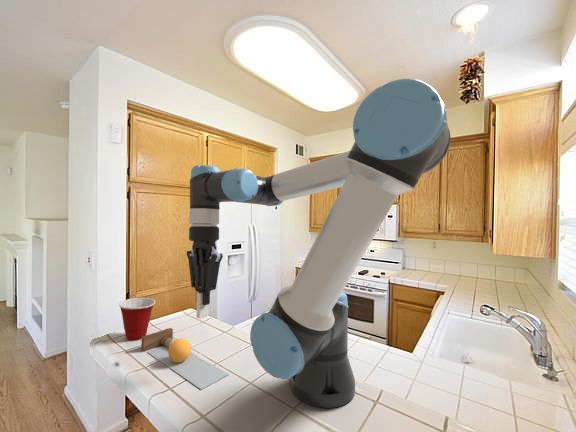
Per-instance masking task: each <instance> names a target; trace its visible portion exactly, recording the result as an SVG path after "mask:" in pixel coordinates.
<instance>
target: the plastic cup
mask: <svg viewBox="0 0 576 432" xmlns="http://www.w3.org/2000/svg"><path fill="white" fill-rule="evenodd" d="M155 304H156V300H155V299H152V298H149V297H133V298H127V299H124V300H123V301H120V302H119V304H118V306H119V308H120V311H121V317H122V321H123V322H122V323H123V329H124V334H125V335H124V336H125V338H126V341H130V342H134V341H139V340H142V337H143V336H146V335H147V332H148V327H149V323H150V320H151V315H152V310H153V308H154V306H155Z"/></svg>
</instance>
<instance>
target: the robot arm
mask: <svg viewBox="0 0 576 432" xmlns="http://www.w3.org/2000/svg"><path fill="white" fill-rule="evenodd" d="M352 122H353V123H352V131H353V139H354V143H353V145H352V147H351V149H350V150H348V151H344V152H341V153H338V154H335V155H332V156H328V157H326V158H322V159H320V160H316V161H313V162H309V163H307V164H304V165H301V166H298V167H297V166H296V167H294V168H291V169H288V170H284V171H282V172H278V173H276V174H272V175H269V176H265V177H263V176H259V175H256V174H254V173H253V172H252V170H250V169H249V168H231V169H229V170H223V171H221V169H220V168H218V167H217V166H214V165H206V164H203V165H201V164H198V165H194V166H193V167H191V170H190V179H189V212H188V213H189V216H188V217H189V220H188V223H189V225H191V226H190V227H188V240H189V241H191V242H193V243H192V245H191V247H192V249H191V250H187V251H186V257H187V259H188V260H187V261H188V268H189V277H190V286H191V288H194V291H195V292H196V297H195V298H196V319H200V320H201V319H204V318H207V317H209V316H210V304H211V303H210V301H211V292H212V291H215V290H216V289H217V285H218V284H217V283H218V277H219V270H220V267H221V261H222V259H223V258H224V254H223V253H219V252H218V251H217V248H218V247H217V245H216V241H220V227H219V226H218V225H219V224H220V209H221V208H220V203H233V202H234V203H242V204H251V205H260V206H261V205H262V206H267V207H274V206H275V207H276V206H280V205H281V204H283V202H284V201H285V202H286V201H288V200H294V199H297V198H301V197H305V196H309V195H314V194H317V193H322V192H327V191H332V190H335V189H336V190H337V189H339V188H341V189H340V191H339V192H338V195H337V196H336V199H335V201H334V203H332V204H333V205H332V206H331V209H330V210H329V213H328V214H327V216H326V218H325V220H324V222H323V224H322V226H321V228H320V230H319V232H318V233H317V236H316V238H315V240H314V241H313V243H312V245H311V247H310V249H309V251H308V253H307V255H306V257H305V259H304V261H303V262H302V265H301V267H300V268H299V271H298V273H297V275H296V277H295V278H294V280H293V282H292V285H287V286H284V287H283V288H281V289H280V291H279V292H278V293H277V296H276V298H275V299H274V302H273V304H272V305H271V308H270V309H269V311H268V312H263V313H261V314H260V315H258V316H257V318H256V319H254V321H253V322H252V325H251V327H250V336H249V337H250V345H251V347H252V352H253V355H254V357H255V358H256V361H257V362H258V364H259V365H260V366H261V368H262V369H263V371H266V373H267V374H269V375H270V376H272V377H274V378H277V379H281V380H288V379H290V390H291V392H292V393H293V395H294V396H295V397H296V398H297V399H298V400H300V401H301V402H303V403H304V404H307V405H310V406H313V407H316V408H324V409H325V408H327V409H328V408H329V409H330V408H331V409H332V408H338V407H341V406H342V407H343V406H344V405H346V404H348V403H349V402H351V401H352V400H353V398H354V397H355V394H356V380H355V375H354V372H353V368H352V365H351V362H350V359H349V356H348V348H349V347H348V345H349V344H348V340H349V339H348V338H349V337H348V335H349V333H348V328H349V323H348V322H349V321H348V320H349V319H348V318H349V314H348V313H349V305H348V296H347V294H346V293H345V292H344V290H345V288H346V286H347V284H348V283H349V282H350V279H351V277H352V276H353V274H354V272H355V270H356V269H357V267H358V265H359V264H360V262H361V261H362V258H363V257H364V255H365V253H366V251H367V250H368V248H369V246H370V245H371V244H372V241H373V240H374V238H375V236H376V234H377V233H378V231H379V229H380V227H381V226H382V224H383V222H384V220H385V219H386V217H387V215H388V214H389V212H390V210H391V208H392V206H393V205H394V203H395V201H396V199H397V197H398V196H400V195H402V194H405V193H409V192H412V191H414V189H415V187H416V186H417V184H418V182H419V181H420V179H421V177H422V176H423V174H426V173H429V172H430V171H432V170H433V169H434V168H435V167H437V166H439V164H441V162H442V161H443V160H444V159H445V157H446V156H447V153H448V151H449V149H450V144H451V132H450V131H451V130H450V128H449V124H448V119H447V108H446V105H445V103H444V101H443V99H442V98H441V97H440V95H439V94H438V92H437V90H436V89H435V88H434V87H432V86H431V85H430V84H428V83H426V82H424V81H423V80H419V79H413V78H400V79H395V80H392V81H389V82H387V83H385V84H383V85H382V86H378V87H377V88H375V89H374V90H372V91H371V92H370V93H369V94H367V96H366V97H365V98H364V99H363V100H362V101H361V103H360V104H359V106H358V107H357V110H356V111H355V114H354V118H353V121H352Z"/></svg>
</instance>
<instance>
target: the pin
mask: <svg viewBox="0 0 576 432" xmlns="http://www.w3.org/2000/svg"><path fill="white" fill-rule="evenodd" d="M175 340H176V339H174V338H173V339H171V338H169V337H166V336H165V337H163V338H162V340H161V344H162V345H161V346H167V347H170V345H171V344H172V343H173V342H174V341H175Z"/></svg>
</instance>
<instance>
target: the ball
mask: <svg viewBox="0 0 576 432" xmlns="http://www.w3.org/2000/svg"><path fill="white" fill-rule="evenodd" d="M174 340H175V341H174V342H173V343H172V344H171V345H170V347H169V351H168V355H169V358H170V359H171V360H172V361H173V362H177V363H179V362H183V361H185V360H186V359H187V358H188V357H189V355H190V353H192V344H191V341H189V340H188V339H186V338H183V337H182V338H178V339H174Z"/></svg>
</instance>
